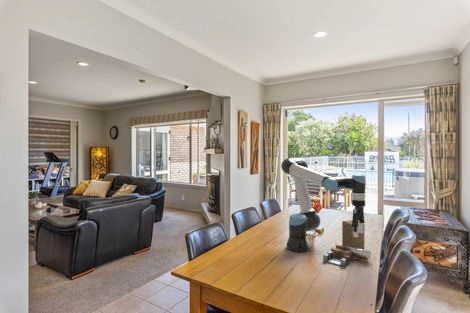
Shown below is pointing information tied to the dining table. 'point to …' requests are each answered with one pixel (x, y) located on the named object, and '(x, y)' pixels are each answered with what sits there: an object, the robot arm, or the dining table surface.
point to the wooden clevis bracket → (341, 252)
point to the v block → (336, 259)
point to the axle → (358, 252)
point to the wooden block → (351, 236)
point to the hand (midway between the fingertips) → (358, 235)
